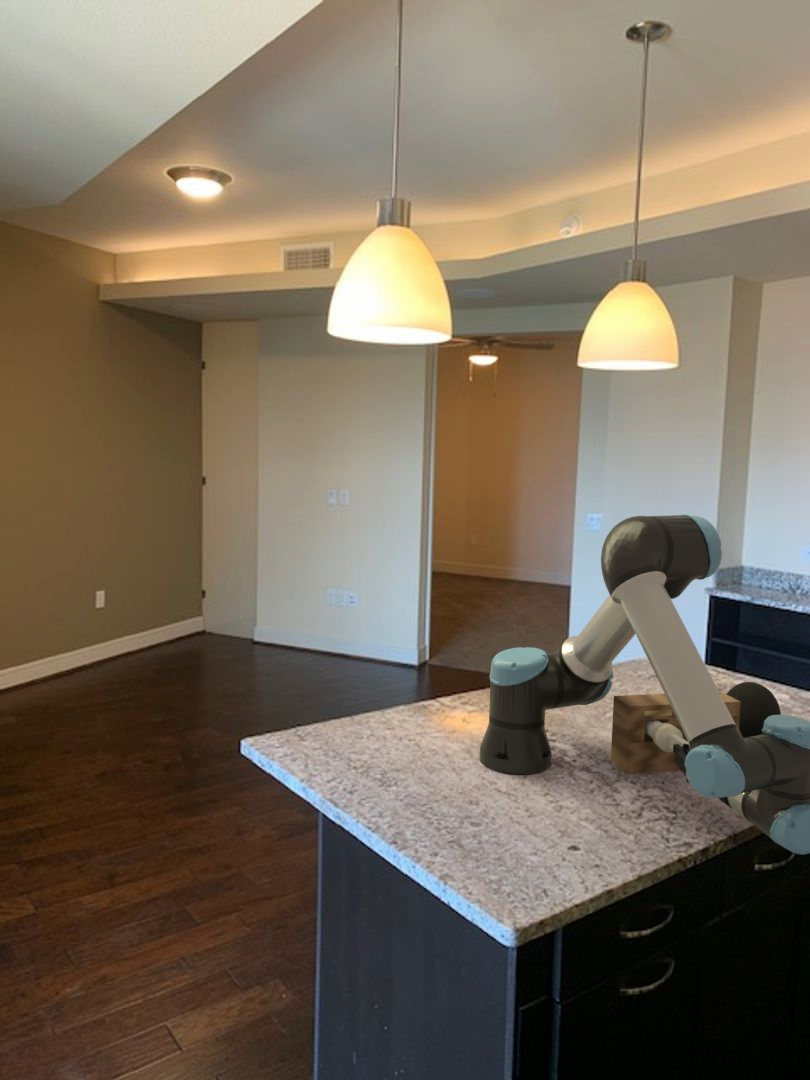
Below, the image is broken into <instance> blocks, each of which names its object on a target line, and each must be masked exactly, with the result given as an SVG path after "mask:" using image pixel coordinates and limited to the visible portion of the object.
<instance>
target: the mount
mask: <svg viewBox="0 0 810 1080" xmlns="http://www.w3.org/2000/svg"><path fill="white" fill-rule="evenodd" d="M719 693H720V695H721V697H722V699H723V701H724V703H725V705H726V707H727V708H728V710H729V712H730V714H731V716H732V718H733V720H734V722H735V724H736V726H737V728H738V729H739V718H740V704H741V702H740V701H738V700H736V699H734V698H733V697H731V696H729V695H727V693H724V692H722V691H719ZM612 708H613V710H612V725H611V744H610V745H611V747H610V762H611V763H613V764H614V766H616V767H617V768H618V769H619V770H620V771H622V772H623V773H624V774H625V775H633V774H652V773H653V774H654V773H666V772H682V771H681V770H680V768H679V767H678V766H677V765H676V763H675V755H676V754H675V753H674V752H665V751H663V750H662V749H660V748H659V747H658V746H656V745H655V744H654V742H653V738H652V737H650V736H649V735H648V734H646V733H645V720H655V719H656V720H658V721H659V722H661V723H669V724H671V725H673V726H674V727H676V728H677V729H679V730H680V731H681V733H682V737H683V739H684V740H686V741H687V742H688V740H687V738H686V736H685V734H684V732H683V730H682V728H681V726H680V724H679V722H678V720H677V718H676V715H675V713H674V711H673V709H672V707H671V705H670V703H669V701H668V699H667V697H666V695H665V693H653V694H631V695H630V694H629V695H628V694H627V695H626V694H625V695H624V694H623V695H614V696H613V707H612Z"/></svg>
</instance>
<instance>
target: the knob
mask: <svg viewBox="0 0 810 1080" xmlns="http://www.w3.org/2000/svg"><path fill="white" fill-rule="evenodd" d="M645 733H646V734H648V735H649V736H650V737H652V738H653V742H654V744H655V745H656V746H658V747H659V748H660V749H662V750H663V751H665V752H673V751H672V750H671V749H669V748H668V743H669V734H677V735H678V736H680V737H681V738H683V737H682V733H681V731H680V730H679V729H677V728H676V727H674V726H673V725H671V724H669V723H661V722H659V721H658V720H656V719H655V720H645Z"/></svg>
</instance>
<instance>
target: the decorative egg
mask: <svg viewBox="0 0 810 1080" xmlns="http://www.w3.org/2000/svg"><path fill="white" fill-rule="evenodd" d="M726 694H727V695H729V696H731V697H733V698H734V699H736V700H738V701H740V702H741V704H740V718H739V731H740V733H741V735H742V737H743V738H747V737H752V736H758V735H763V732H762V729H763V726H764V721H765V720H766V719H767V718H768V717H769V716H772V715H782V712H781V708H780V705H779V702H778V700H777V698H776V697H775V695H774V694H773V692H772V691H771V690H769V689H768V688H767V687H766V686H764V685H762V684H760V683H758V682H754V681H743V682H741V683H737V684H736V685H734V686H733V687H731V688H730V689H729V690H728V691H727V692H726Z"/></svg>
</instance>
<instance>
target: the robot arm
mask: <svg viewBox="0 0 810 1080" xmlns="http://www.w3.org/2000/svg"><path fill="white" fill-rule="evenodd" d="M722 557H723V551H722V541H721V538H720V535H719V533H718V531H717V529H716V528H715V526H714V525H713V524H712V523H711V522H710V521H709V520H708V519H706V518H705V517H702V516H698V515H689V514H680V515H679V514H678V515H677V514H676V515H675V514H674V515H636V516H631V517H628V518H625V519H623V520H621V521H619V522H618V523H617V524H616V525H614V527H612V528H611V530H610V531H609V532H608V534H607V535H606V537H605V539H604V541H603V545H602V547H601V555H600V568H601V575H602V577H603V578H602V579H603V582H604V585H605V587H606V590H607V592H608V593H609V594H608V596H607V597H606V599H605V600H604V601H603V603H602V604H601V606H600V607H599V608H598V609H597V611H596V612H595V613H594V614H593V615H592V616H591V619H590V620H589V621H588V622H587V624H586V625H585V626H584V627H583V629H582V631H580V633H579V634H578V635H574V636H573V635H572V636H569V637H568V638H567V639H566V640H565V641H564V642H563V643H562V644H561V646H560V647H559V649H558V650H556V651H555V652H551V653H550V652H549V653H547V652H546V651H545V650H543V649H541V648H538V647H532V646H530V647H529V646H526V647H521V646H520V647H512V648H508V649H504V650H502V651H499V652H498V653H497V654H495V656H494V657H493V658H492V660H491V664H490V673H489V681H490V683H489V709H488V710H489V711H488V712H489V715H488V718H489V719H488V724H487V728H486V730H485V733H484V736H483V738H482V740H481V743H480V746H479V761H480V763H481V764H483V765H484V766H485V767H487V768H488V769H492V770H494V771H498V772H502V773H506V774H514V775H515V774H516V775H529V774H530V775H531V774H537V773H540V772H541V773H542V772H544V771H547V770H548V769H549V768H551V766H552V760H553V759H552V758H553V753H552V749H551V746H550V741H549V738H548V735H547V731H546V726H545V725H546V711H548V710H553V709H559V708H567V707H572V706H587V705H591V704H593V703H598V702H599V701H601V700H603V699H604V698H606V697H607V695H608V694H609V692H610V690H611V688H612V686H613V681H611V679H614V670H613V661H614V660H615V659H616V658H617V657H618V655H619V654H620V653H621V652H622V650H624V649H625V648H626V646H627V645H628V644H629V642H631V640H632V639H633V638H634V637H635V635H636V637H637V639H638V642H639V643H640V646H641V648H642V650H643V652H644V654H645V656H646V658H647V660H648V661H649V664H650V666H651V668H652V670H653V672H654V674H655V677H656V678H657V681H658V683H659V685H660V686H661V688H662V691H663V694H665V695H666V697H667V699H668V701H669V703H670V705H671V707H672V709H673V711H674V713H675V715H676V718H677V720H678V722H679V724H680V726H681V728H682V730H683V732H684V734H685V736H686V738H687V740H688V742H687V741H686V740H684V739H683V738H681V737H680V736H678V735H677V734H669V743H668V748H669V749H671V750H672V751H673V752H674V753H675V754H676V755H675V763H676V765H677V766H678V767H679V768H680V770H681V771H680V772H682V774H683V775H684V776H685V781H686V783H688V784H690V786H691V787H692V788H693V790H694V791H695V792H697V793H698V794H699V795H700V796H702V797H705V798H707V799H718V801H720V802H722V803H723V804H725V805H726V806H727V807H728V808H730V809H731V810H733V811H734V812H735V813H737V814H739V815H740V816H741V817H742V818H744V819H746V820H747V821H748V822H749V823H750V824H752V825H753V826H755V828H756V829H758V830H760V831H761V832H762V833H763V834H764V835H766V836H767V837H769V838H770V839H771V840H772V841H773V842H774V843H776V844H778V845H780V847H782V848H784V849H785V850H788V851H790V852H792V853H794V854H797V855H807V854H810V721H809V720H806V719H804V718H801V717H797V716H795V715H794V716H793V715H788V714H781V715H772V716H769V717H768V718H767V719H766V720H765V721H764V726H763V729H762V732H763V735H758V736H752V737H747V738H743V737H742V735H741V733H740V731H739V729H738V728H737V726H736V724H735V722H734V720H733V718H732V716H731V714H730V712H729V710H728V708H727V707H726V705H725V703H724V701H723V699H722V697H721V695H720V693H719V692H720V691H719V690H718V688H717V685H716V684H715V682H714V680H713V678H712V676H711V674H710V672H709V670H708V668H707V666H706V664H705V662H704V661H703V658H702V655H701V654H700V653H699V651H698V649H697V647H696V645H695V643H694V641H693V639H692V637H691V635H690V633H689V631H688V630H687V627H686V626H685V623H684V622H683V620H682V618H681V615H680V614H679V611H678V610H677V608H676V606H675V604H674V603H673V600H675V599H677V598H678V597H680V596H681V595H682V593H684V591H685V590H686V589H687V588H688V587H689V585H690V584H691V583H692V582H693V581H695V580H700V581H701V580H704V579H707V578H709V577H711V576H713V575H714V574H715V573H716V572H717V570H718V569H719V567H720V565H721V562H722Z"/></svg>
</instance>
